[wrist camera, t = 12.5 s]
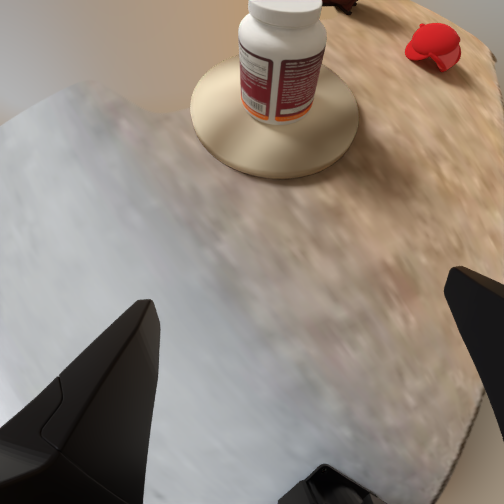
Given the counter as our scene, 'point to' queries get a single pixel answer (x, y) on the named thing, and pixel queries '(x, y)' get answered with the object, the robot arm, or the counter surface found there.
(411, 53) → the cap
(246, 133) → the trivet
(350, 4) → the mate gourd
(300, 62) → the pill bottle
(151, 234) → the counter surface
